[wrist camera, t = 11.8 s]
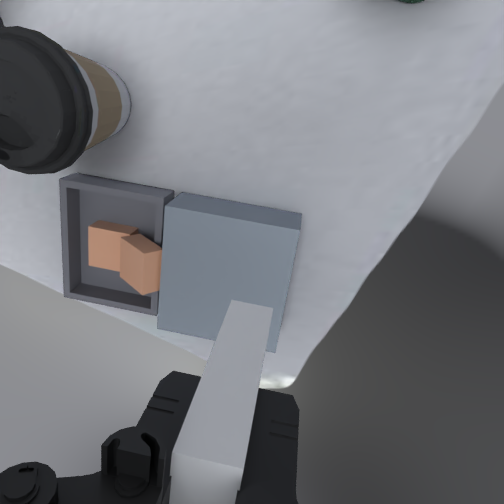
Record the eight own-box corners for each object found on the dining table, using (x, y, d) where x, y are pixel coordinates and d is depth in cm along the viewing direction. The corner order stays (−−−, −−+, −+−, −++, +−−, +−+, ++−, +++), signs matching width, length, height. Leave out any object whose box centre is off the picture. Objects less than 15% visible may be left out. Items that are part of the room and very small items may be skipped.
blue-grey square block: (173, 303, 53) (157, 328, 47) (182, 192, 47) (165, 205, 42) (279, 325, 52) (275, 353, 46) (301, 213, 46) (300, 230, 40)
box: (78, 284, 54) (63, 296, 51) (76, 172, 48) (59, 178, 45) (166, 302, 53) (156, 315, 50) (174, 190, 47) (163, 197, 44)
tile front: (138, 271, 49) (119, 276, 48) (140, 233, 47) (120, 237, 46) (161, 289, 46) (142, 295, 44) (164, 249, 44) (144, 253, 43)
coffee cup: (43, 129, 47) (-71, 145, 33) (63, 24, 42) (-59, -8, 28) (134, 169, 47) (59, 203, 33) (163, 70, 42) (91, 60, 29)
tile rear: (128, 273, 48) (136, 265, 51) (129, 234, 46) (138, 227, 49) (88, 265, 49) (98, 257, 51) (88, 226, 47) (98, 219, 49)
